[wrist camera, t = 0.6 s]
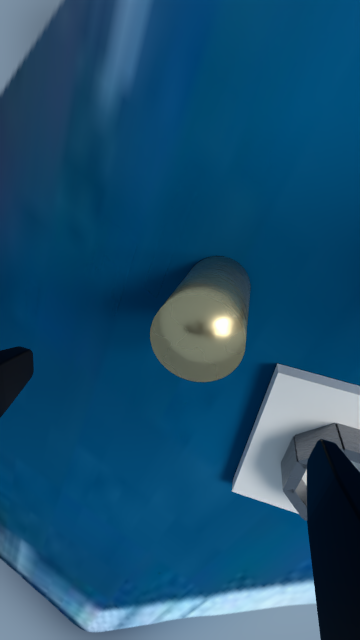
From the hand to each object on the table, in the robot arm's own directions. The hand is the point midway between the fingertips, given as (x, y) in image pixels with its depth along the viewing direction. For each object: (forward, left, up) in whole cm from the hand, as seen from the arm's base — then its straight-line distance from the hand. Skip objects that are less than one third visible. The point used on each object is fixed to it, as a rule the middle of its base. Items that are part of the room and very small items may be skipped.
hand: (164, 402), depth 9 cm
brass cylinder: (0, +1, -13) cm, 13 cm away
